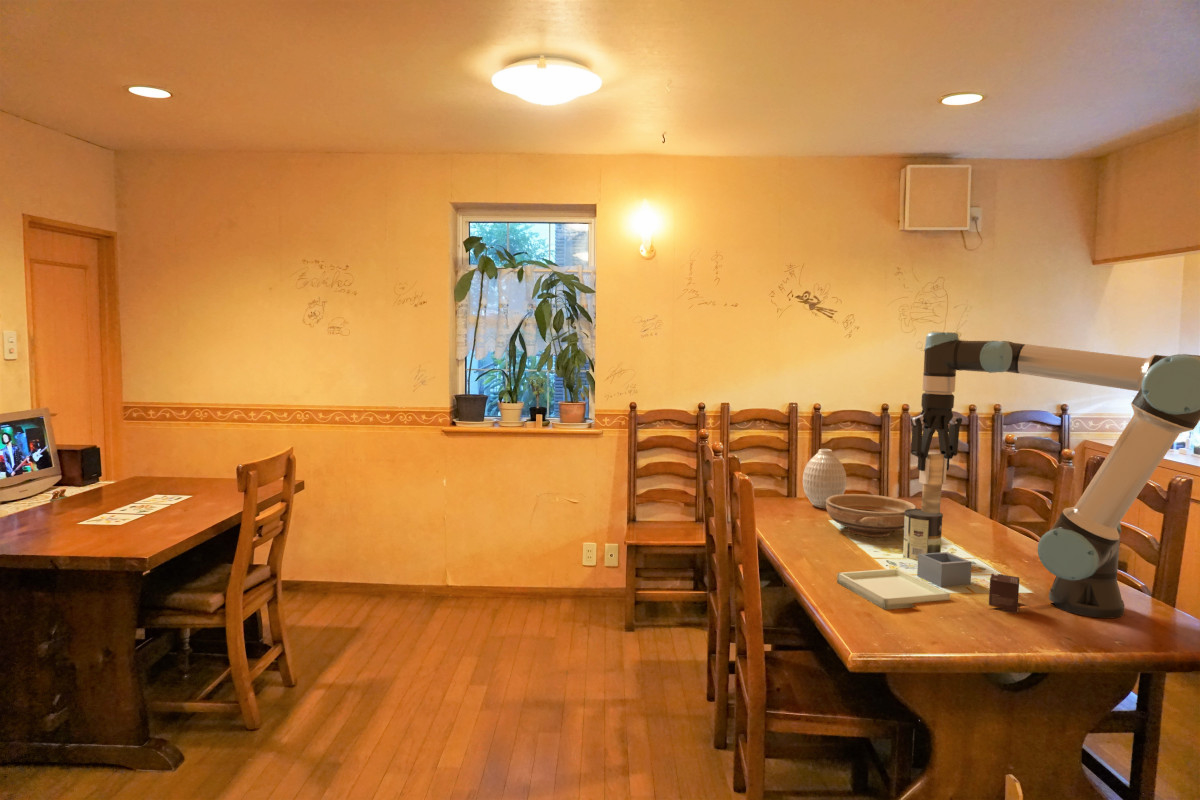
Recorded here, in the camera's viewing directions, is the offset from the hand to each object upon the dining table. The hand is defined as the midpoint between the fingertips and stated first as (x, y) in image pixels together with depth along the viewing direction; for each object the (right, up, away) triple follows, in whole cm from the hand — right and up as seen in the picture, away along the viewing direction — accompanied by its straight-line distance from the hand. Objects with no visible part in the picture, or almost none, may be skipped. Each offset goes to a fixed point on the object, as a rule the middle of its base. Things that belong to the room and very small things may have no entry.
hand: (932, 482), depth 187 cm
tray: (-12, -27, -4) cm, 30 cm away
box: (+11, -29, -13) cm, 33 cm away
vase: (+1, -20, +94) cm, 96 cm away
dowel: (0, -7, +1) cm, 7 cm away
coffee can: (+8, -26, +25) cm, 37 cm away
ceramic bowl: (+5, -23, +56) cm, 61 cm away
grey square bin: (+5, -27, +4) cm, 28 cm away
